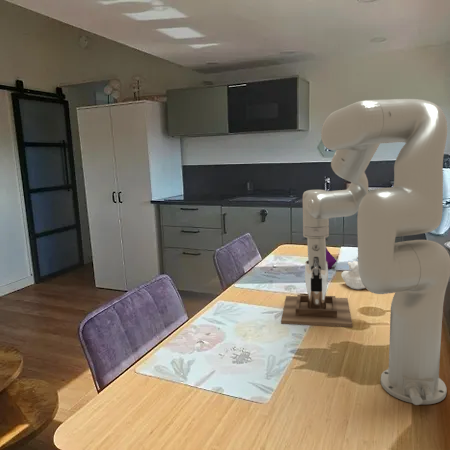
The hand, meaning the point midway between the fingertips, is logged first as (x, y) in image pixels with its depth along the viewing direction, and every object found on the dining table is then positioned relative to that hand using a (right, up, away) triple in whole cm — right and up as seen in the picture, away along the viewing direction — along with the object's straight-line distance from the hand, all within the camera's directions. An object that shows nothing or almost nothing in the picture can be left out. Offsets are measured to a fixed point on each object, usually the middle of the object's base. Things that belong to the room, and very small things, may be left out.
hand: (316, 285), depth 124 cm
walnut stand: (0, -8, +2) cm, 9 cm away
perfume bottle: (+14, 0, +46) cm, 48 cm away
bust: (+19, -4, +21) cm, 28 cm away
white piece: (0, -8, +2) cm, 8 cm away
